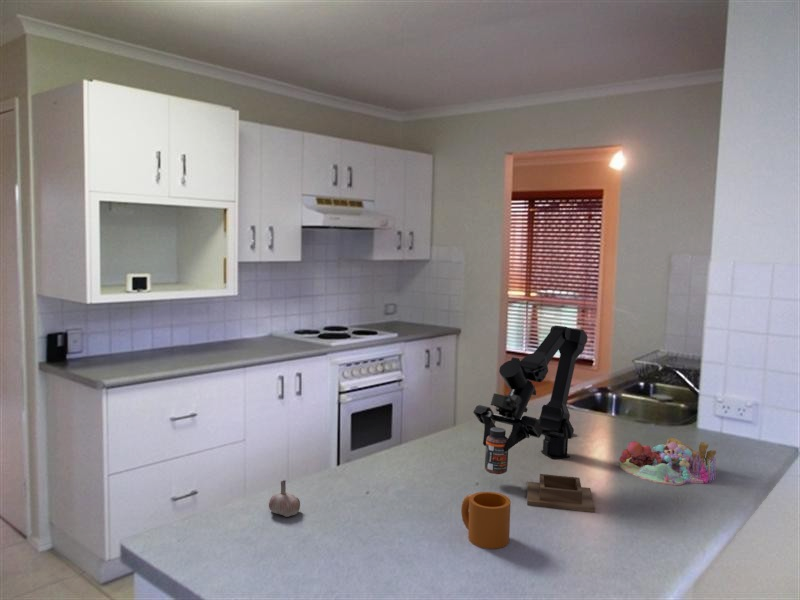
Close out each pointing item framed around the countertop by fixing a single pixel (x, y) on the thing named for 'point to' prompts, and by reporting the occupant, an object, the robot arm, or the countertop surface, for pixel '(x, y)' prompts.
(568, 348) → the robot arm
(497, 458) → the supplement bottle
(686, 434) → the countertop surface
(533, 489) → the bottle stand
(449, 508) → the countertop surface
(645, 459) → the coral reef model
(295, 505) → the garlic bulb
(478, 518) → the mug
